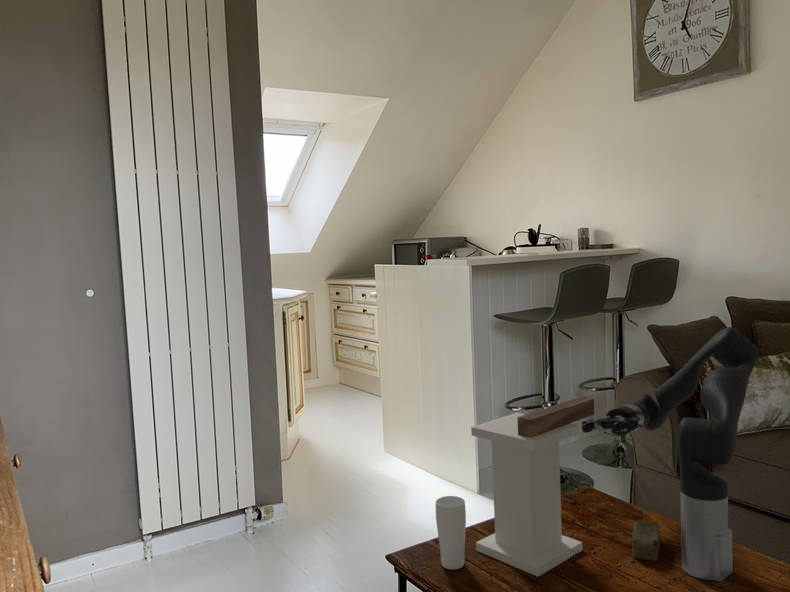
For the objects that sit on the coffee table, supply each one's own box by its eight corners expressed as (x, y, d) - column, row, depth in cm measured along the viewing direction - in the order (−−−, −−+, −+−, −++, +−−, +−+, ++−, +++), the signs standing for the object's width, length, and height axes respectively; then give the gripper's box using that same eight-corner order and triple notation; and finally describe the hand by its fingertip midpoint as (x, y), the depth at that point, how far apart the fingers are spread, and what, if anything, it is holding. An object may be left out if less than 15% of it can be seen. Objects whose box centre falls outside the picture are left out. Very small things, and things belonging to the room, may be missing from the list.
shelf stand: (582, 550, 154) (578, 425, 151) (537, 576, 143) (533, 441, 140) (521, 527, 167) (517, 412, 165) (476, 550, 156) (471, 427, 154)
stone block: (632, 560, 148) (631, 538, 148) (634, 539, 159) (633, 518, 159) (659, 563, 146) (659, 542, 146) (660, 542, 157) (659, 521, 156)
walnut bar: (594, 414, 160) (594, 398, 159) (530, 437, 143) (530, 419, 143) (581, 412, 162) (581, 396, 162) (518, 434, 146) (517, 417, 146)
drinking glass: (472, 561, 151) (469, 498, 150) (460, 575, 145) (457, 509, 144) (446, 555, 154) (443, 493, 153) (432, 568, 148) (430, 504, 147)
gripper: (653, 432, 174) (628, 442, 162) (602, 433, 183) (575, 443, 171) (648, 404, 175) (624, 412, 163) (598, 407, 184) (571, 414, 172)
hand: (599, 428), depth 167 cm, fingers open, 8 cm apart
